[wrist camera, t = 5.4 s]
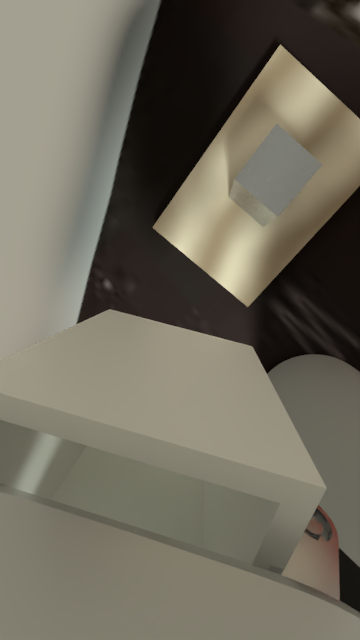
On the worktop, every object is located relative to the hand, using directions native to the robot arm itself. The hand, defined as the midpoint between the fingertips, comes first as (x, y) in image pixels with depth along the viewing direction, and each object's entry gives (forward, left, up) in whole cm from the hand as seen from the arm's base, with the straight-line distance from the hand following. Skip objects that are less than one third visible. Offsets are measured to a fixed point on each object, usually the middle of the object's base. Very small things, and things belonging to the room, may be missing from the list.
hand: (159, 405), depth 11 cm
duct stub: (+3, -14, -16) cm, 21 cm away
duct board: (+3, -14, -17) cm, 23 cm away
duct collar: (-1, +1, -1) cm, 2 cm away
